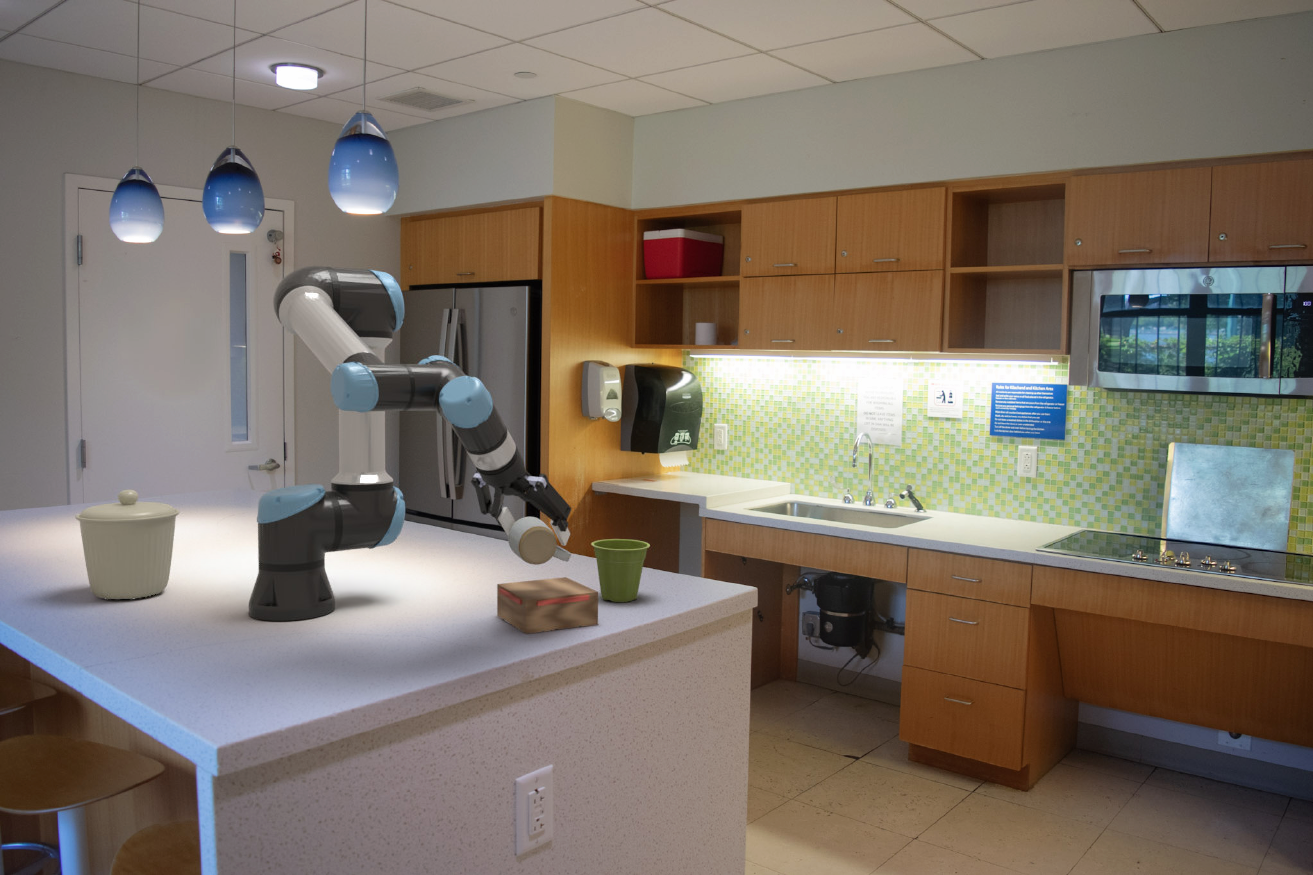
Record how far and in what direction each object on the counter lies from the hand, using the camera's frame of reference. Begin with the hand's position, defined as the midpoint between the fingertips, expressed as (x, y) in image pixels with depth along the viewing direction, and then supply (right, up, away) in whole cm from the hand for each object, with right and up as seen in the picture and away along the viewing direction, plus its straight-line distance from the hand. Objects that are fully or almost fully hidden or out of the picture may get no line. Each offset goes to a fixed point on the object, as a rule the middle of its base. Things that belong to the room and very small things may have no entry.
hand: (540, 537), depth 176 cm
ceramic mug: (0, -4, -2) cm, 5 cm away
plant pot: (+14, -15, +21) cm, 29 cm away
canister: (-84, -13, +17) cm, 87 cm away
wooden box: (+1, -16, +3) cm, 16 cm away
